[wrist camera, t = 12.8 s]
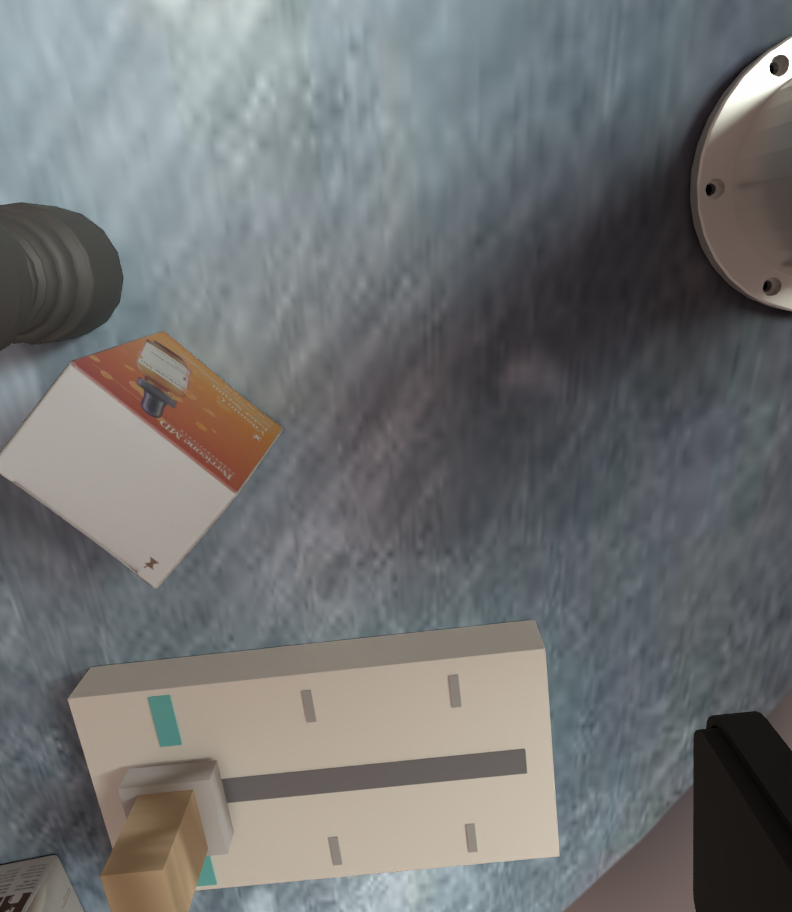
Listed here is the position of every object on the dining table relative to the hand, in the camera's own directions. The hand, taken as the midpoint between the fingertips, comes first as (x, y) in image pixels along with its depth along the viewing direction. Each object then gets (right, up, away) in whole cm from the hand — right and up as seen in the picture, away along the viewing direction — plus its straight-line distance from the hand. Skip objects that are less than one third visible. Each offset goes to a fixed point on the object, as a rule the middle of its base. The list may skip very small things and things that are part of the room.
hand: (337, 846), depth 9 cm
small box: (-10, +7, +28) cm, 30 cm away
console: (-3, -13, +33) cm, 36 cm away
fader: (-11, -14, +30) cm, 35 cm away
